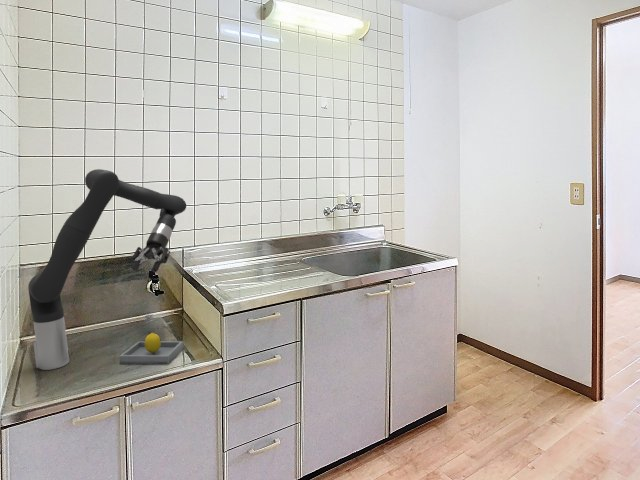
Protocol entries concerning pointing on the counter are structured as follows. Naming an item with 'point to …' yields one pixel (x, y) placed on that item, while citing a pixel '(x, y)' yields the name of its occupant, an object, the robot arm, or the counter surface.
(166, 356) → the tray
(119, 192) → the robot arm
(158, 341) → the lemon
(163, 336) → the counter surface
